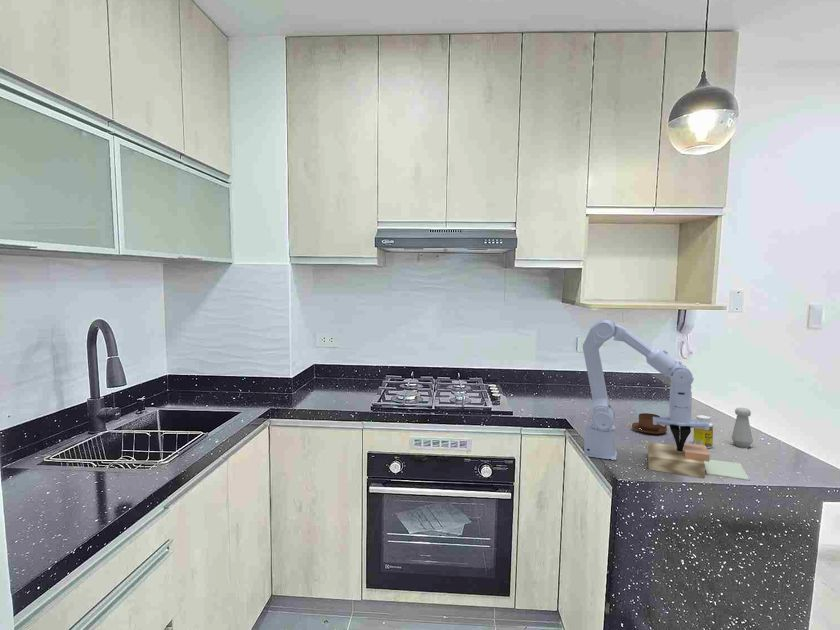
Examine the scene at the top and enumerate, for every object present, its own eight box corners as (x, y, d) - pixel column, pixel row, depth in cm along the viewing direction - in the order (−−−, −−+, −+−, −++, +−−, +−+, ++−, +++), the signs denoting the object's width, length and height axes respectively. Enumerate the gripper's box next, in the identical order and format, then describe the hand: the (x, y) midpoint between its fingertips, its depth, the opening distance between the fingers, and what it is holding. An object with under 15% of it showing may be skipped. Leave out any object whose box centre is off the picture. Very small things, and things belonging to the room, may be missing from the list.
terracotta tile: (684, 458, 128) (685, 451, 128) (682, 449, 136) (682, 442, 136) (709, 461, 125) (709, 454, 125) (705, 452, 133) (705, 445, 133)
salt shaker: (748, 450, 146) (749, 411, 145) (728, 445, 150) (729, 408, 150) (755, 446, 149) (756, 408, 149) (735, 442, 154) (736, 405, 153)
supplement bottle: (705, 449, 146) (706, 419, 146) (689, 444, 151) (690, 415, 151) (716, 447, 148) (717, 417, 148) (700, 442, 154) (700, 413, 153)
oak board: (648, 469, 130) (648, 456, 130) (647, 454, 142) (648, 442, 142) (704, 478, 124) (704, 464, 123) (698, 461, 136) (698, 448, 136)
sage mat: (706, 474, 126) (706, 473, 126) (701, 459, 138) (701, 458, 138) (749, 480, 122) (749, 479, 122) (740, 464, 133) (740, 463, 133)
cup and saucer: (667, 429, 169) (667, 414, 169) (666, 438, 159) (667, 421, 158) (633, 425, 175) (633, 410, 175) (630, 433, 165) (630, 417, 164)
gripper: (653, 406, 131) (652, 450, 132) (710, 411, 125) (710, 458, 125) (652, 401, 138) (652, 443, 138) (707, 406, 131) (706, 450, 132)
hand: (679, 450), depth 132 cm, fingers closed
